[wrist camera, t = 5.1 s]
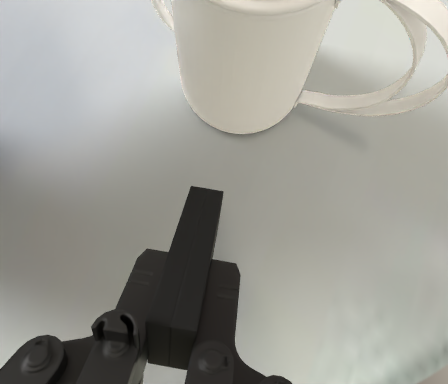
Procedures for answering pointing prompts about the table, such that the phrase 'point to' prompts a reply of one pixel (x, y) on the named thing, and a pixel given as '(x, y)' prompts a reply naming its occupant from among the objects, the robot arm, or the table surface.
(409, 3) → the coffeepot
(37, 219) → the table surface
